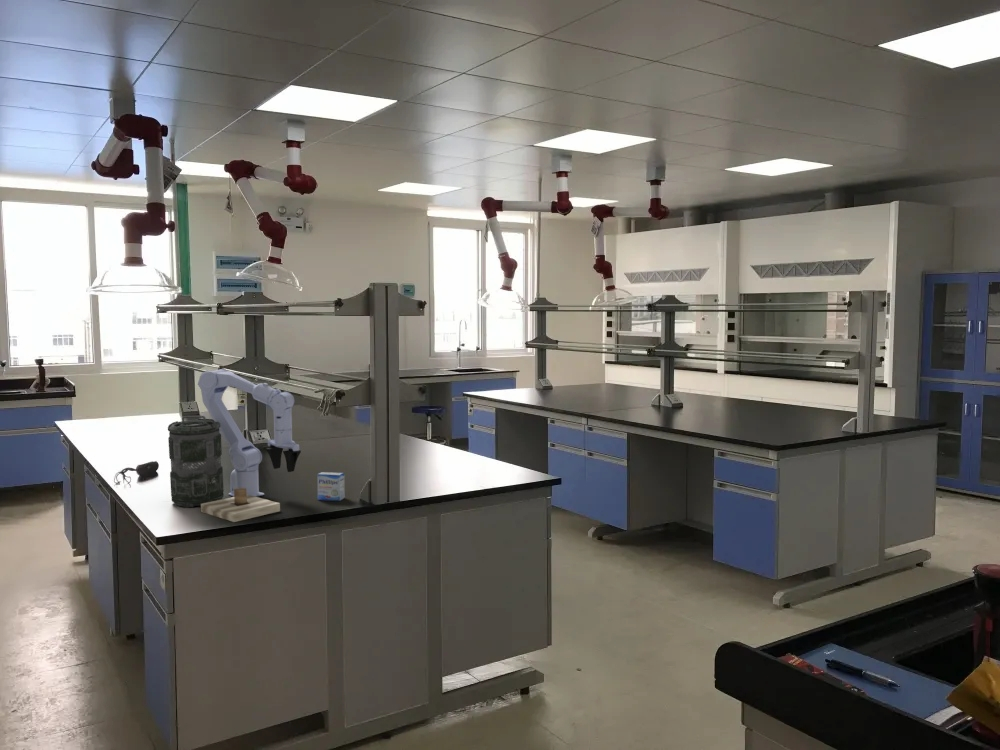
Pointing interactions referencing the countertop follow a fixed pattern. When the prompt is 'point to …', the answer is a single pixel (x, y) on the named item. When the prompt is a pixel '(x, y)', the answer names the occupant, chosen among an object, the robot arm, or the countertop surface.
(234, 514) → the board
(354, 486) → the countertop surface
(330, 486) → the medicine box
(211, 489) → the canister
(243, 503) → the peg
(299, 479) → the countertop surface
